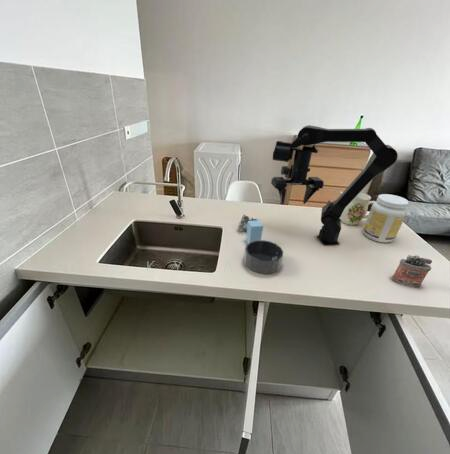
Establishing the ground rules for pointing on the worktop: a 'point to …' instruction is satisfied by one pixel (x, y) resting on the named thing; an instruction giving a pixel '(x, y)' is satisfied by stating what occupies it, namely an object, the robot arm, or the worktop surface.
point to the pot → (263, 257)
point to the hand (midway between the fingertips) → (293, 203)
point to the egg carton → (245, 223)
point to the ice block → (254, 231)
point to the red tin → (412, 271)
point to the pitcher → (356, 209)
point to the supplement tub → (385, 218)
